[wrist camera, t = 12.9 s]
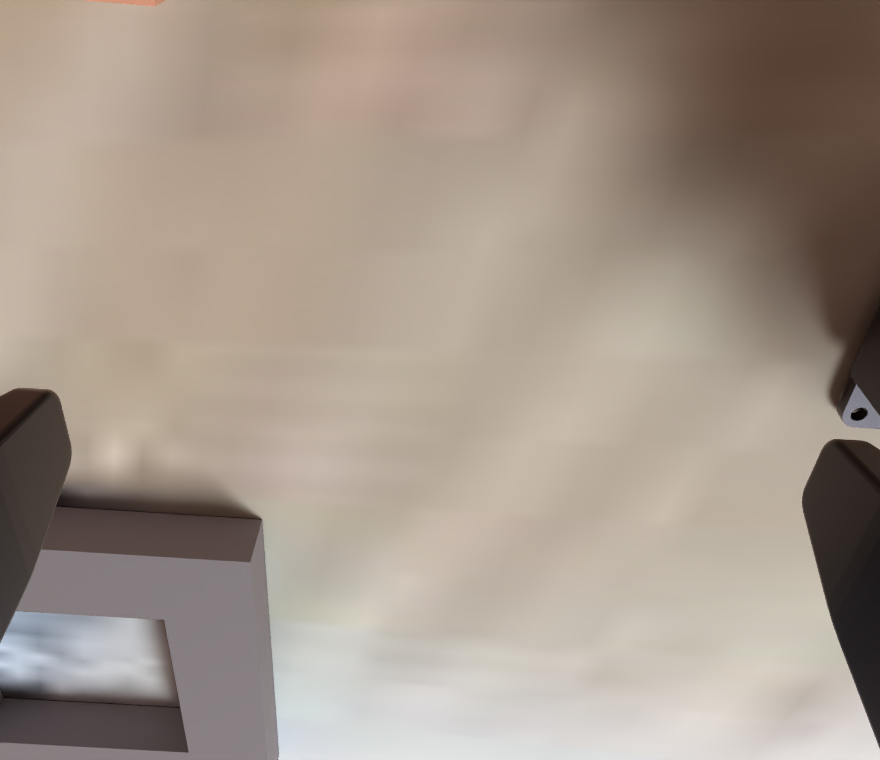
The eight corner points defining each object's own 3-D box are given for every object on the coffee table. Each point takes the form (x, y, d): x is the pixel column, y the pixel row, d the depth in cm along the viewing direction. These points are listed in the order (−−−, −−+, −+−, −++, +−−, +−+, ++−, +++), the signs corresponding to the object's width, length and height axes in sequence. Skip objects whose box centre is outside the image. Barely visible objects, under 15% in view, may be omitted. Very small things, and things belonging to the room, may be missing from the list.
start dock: (261, 519, 28) (250, 562, 27) (278, 754, 37) (270, 797, 35) (-171, 492, 28) (-210, 533, 26) (-52, 736, 36) (-76, 779, 35)
